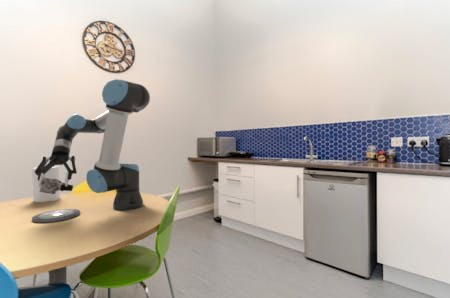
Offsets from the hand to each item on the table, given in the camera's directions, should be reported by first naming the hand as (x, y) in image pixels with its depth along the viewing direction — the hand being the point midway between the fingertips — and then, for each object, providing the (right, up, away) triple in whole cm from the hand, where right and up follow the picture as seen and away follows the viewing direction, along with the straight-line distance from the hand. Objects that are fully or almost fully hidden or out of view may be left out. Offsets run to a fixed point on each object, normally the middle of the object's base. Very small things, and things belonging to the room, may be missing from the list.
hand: (53, 185), depth 119 cm
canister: (-31, -15, +41) cm, 53 cm away
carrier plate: (0, -15, +3) cm, 15 cm away
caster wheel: (-1, -4, +5) cm, 6 cm away
